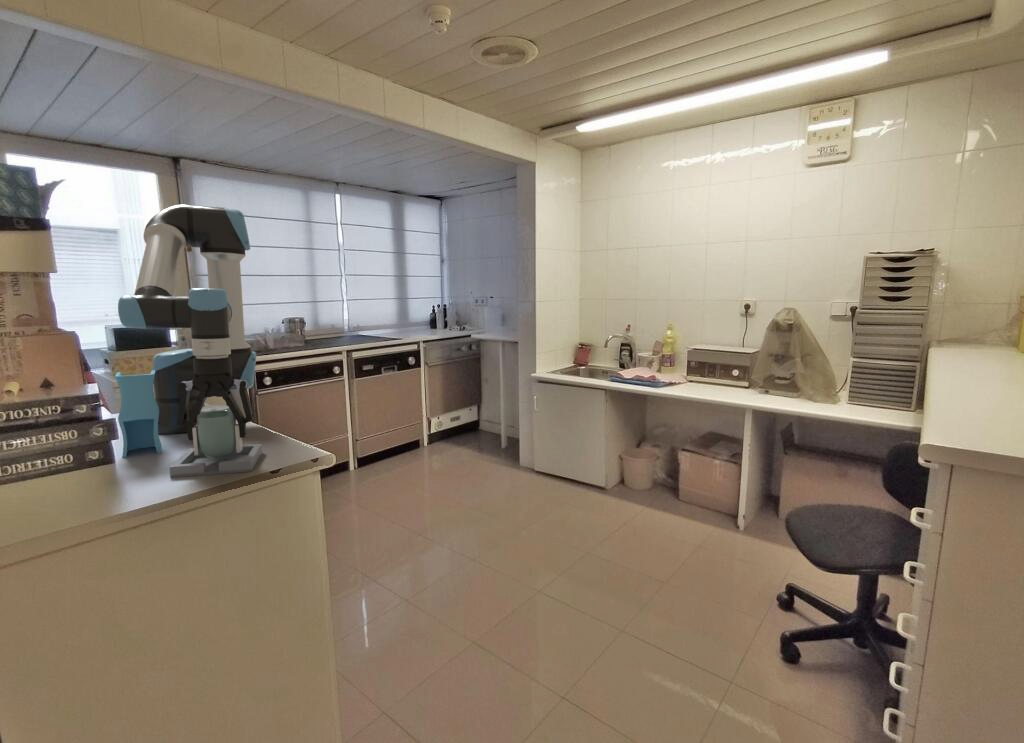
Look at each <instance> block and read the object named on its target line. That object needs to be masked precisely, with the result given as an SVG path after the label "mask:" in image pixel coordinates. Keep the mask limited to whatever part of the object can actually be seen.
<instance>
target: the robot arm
mask: <svg viewBox="0 0 1024 743" xmlns="http://www.w3.org/2000/svg"><path fill="white" fill-rule="evenodd" d="M143 240H144V242H145V243H144V244H145V249H144V252H143V256H142V260H141V265H140V269H139V273H138V277H137V282H136V285H135V291H134V295H133V294H130V295H122V296H121V297H120V298H118V303H117V311H118V318H119V321H120V323H121V324H122V326H124V327H126V328H129V329H143V330H146V329H177V328H178V329H190V330H191V333H190V334H191V347H192V348H183V349H176V350H169V351H165V352H164V351H163V352H160V353H157V354H155V355H154V356H153V358H152V367H151V368H152V370H151V371H153V370H155V376H154V383H153V392H154V397H155V400H156V403H157V405H158V407H159V418H158V435H159V434H161V435H164V434H165V435H167V434H168V435H171V434H173V435H174V434H183V433H187V439H188V441H190V442H193V448H194V455H199V454H200V453H201V452H202V451H201V449H200V445H199V440H198V431H197V425H196V421H197V415H199V414H200V412H201V409H202V407H203V406H206V405H205V402H206V400H207V398H211V397H212V398H213V397H216V398H219V397H220V398H222V399H223V400H224V402H225V403H226V406H228V407H229V408H230V411H231V412H232V413H233V415H234V417H235V419H236V425H235V436H236V451H237V453H239V452H241V451H242V449H243V447H242V445H243V438H245V437H246V436H247V423H250V422H252V421H253V420H254V419H255V415H254V411H253V408H252V404H251V399H250V396H249V392H248V389H251V388H252V387H253V386H254V382H255V373H256V363H257V352H256V351H254V350H253V351H252V347H251V345H250V344H249V343H248V342H247V341H246V338H245V322H244V320H245V319H244V307H243V304H244V302H243V289H242V286H243V285H242V272H241V261H243V259H244V258H245V257H246V251H250V250H251V245H250V239H249V233H248V229H247V224H246V220H245V216H244V214H243V212H242V211H241V210H239V209H234V208H228V207H219V206H203V205H190V204H175V205H172V206H169V207H167V208H164V209H162V210H160V211H159V212H158V213H156V214H154V216H153V217H151V218H150V219H149V221H148V222H147V223H146V225H145V227H144V231H143ZM185 248H199V253H200V254H199V255H201V256H202V257H203V258H205V260H206V265H207V266H206V270H207V281H208V288H204V287H203V288H199V287H197V288H195V287H194V288H193V287H192V288H190V289H189V291H188V296H184V295H183V296H176V295H174V294H175V287H176V280H177V275H178V269H179V268H178V267H179V261H180V254H181V253H182V252H183V251H184V250H185ZM231 391H239V396H240V400H241V404H242V408H243V411H242V410H241V408H240V406H239V405H238V403H237V401H236V400H235V398H234V397H233V396H234V395H233V393H232V392H231ZM243 412H244V414H243Z"/></svg>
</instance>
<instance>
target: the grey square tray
mask: <svg viewBox="0 0 1024 743" xmlns="http://www.w3.org/2000/svg"><path fill="white" fill-rule="evenodd" d="M242 447H243V449H242V451H241V452H239V453H237V451H236V447H235V449H234V451H233V452H232V453H231V454H229V455H227V456H224V457H219V458H211V457H207V456H205V455H204V454H203V453H202V452H201V453H200V454H199V455H194V447H191V448H189V449H187V450H186V451H185V452H184V453H183V454H182V455H181V456H180V457H179V458H177V459H176V461H174V462H173V463H172V464H171V465H170V466H169V477H170V478H181V477H182V478H183V477H184V478H185V477H194V476H196V477H197V476H205V475H206V476H209V475H210V476H211V475H221V474H222V475H223V474H233V473H234V474H235V473H236V474H237V473H247V472H253V469H254V468H255V466H256V464H257V463H258V462H259V459H260V458H261V456H262V455H263V444H262V443H255V444H252V443H251V444H242Z"/></svg>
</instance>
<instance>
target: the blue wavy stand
mask: <svg viewBox="0 0 1024 743" xmlns="http://www.w3.org/2000/svg"><path fill="white" fill-rule="evenodd" d="M152 370H153V369H152ZM152 370H151V371H150V373H146V374H145V373H144V374H131V375H130V374H129V375H127V374H126V375H122V372H121V371H118V372H116V374H115V375H114V377H115V380H116V382H117V385H118V388H119V392H120V408H119V414H118V416H117V420H118V424H119V427H120V431H121V435H122V440H123V448H122V456H121V458H123V459H124V458H127V455H128V452H129V451H133V450H137V449H147V448H155V449H156V453H157V454H160V453H161V454H162V452H163V451H162V449H163V446H162V443H161V439H160V435H159V433H158V418H159V407H158V405H157V403H156V400H155V391H154V376H155V370H153V371H152Z"/></svg>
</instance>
